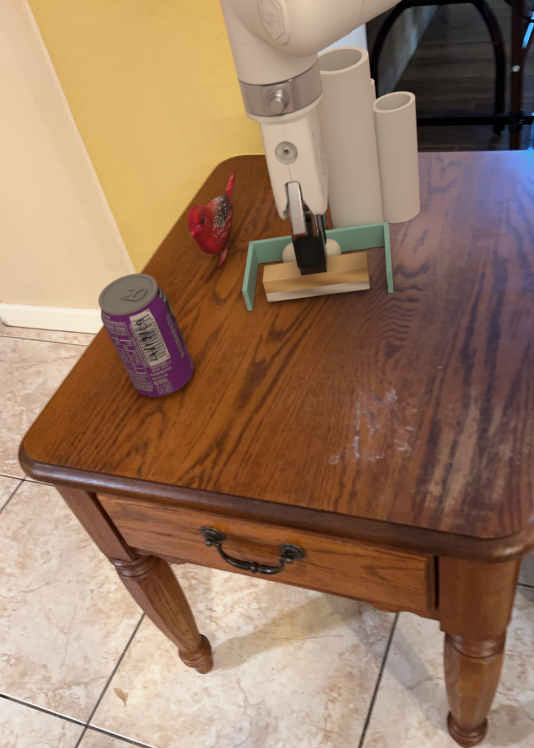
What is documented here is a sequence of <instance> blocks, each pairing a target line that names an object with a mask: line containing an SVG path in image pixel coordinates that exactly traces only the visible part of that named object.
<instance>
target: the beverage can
mask: <svg viewBox="0 0 534 748" xmlns="http://www.w3.org/2000/svg"><path fill="white" fill-rule="evenodd" d="M97 301H98V306H99V308H100V319H101V322H102V324H103V326H104V328H105V330H106V333H107V334H108V337H109V339H110V340H111V343H112V344H113V347H114V348H115V351H116V353H117V355H118V357H119V359H120V361H121V363H122V365H123V367H124V369H125V371H126V373H127V375H128V377H129V380H130V381H131V383H132V385H133V387H134V389H135V390H136V391H137V392H138V393H139V394H141V395H143V396H146V397H154V398H155V397H163V396H168V395H170V394H173V393H175V392H176V391H179V390H180V389H181V388H183V387H184V386H185V385H186V384H187V383H188V382H189V380H190V379H191V378H192V376H193V374H194V370H195V365H194V362H193V359H192V356H191V353H190V351H189V348H188V345H187V344H186V341H185V339H184V336H183V333H182V331H181V328H180V326H179V323H178V322H177V318H176V315H175V313H174V310H173V308H172V305H171V303H170V301H169V298H168V296H167V293H166V291H164V289H162V288H161V287H160V286H159V285H158V283H157V280H156V278H154V277H153V276H152V275H150V274H147V273H131V274H127V275H123V276H121V277H118V278H117V279H115V280H113V281H111V282H110V283H108V284H107V285H106V286H105V287H104V288H103V289H102V290H101V292H100V294H99V296H98V299H97Z"/></svg>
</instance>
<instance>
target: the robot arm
mask: <svg viewBox="0 0 534 748" xmlns="http://www.w3.org/2000/svg"><path fill="white" fill-rule="evenodd" d="M400 2H402V0H219V3H220V8H221V12H222V17H223V21H224V25H225V29H226V35H227V38H228V43H229V47H230V51H231V55H232V60H233V64H234V67H235V68H234V69H235V72H236V76H237V81H238V86H239V90H240V94H241V95H240V96H241V99H242V104H243V108H244V112H245V115H246V116H247V118H248V119H249V120H252V121H254V122H258V124H259V128H260V136H261V140H262V147H263V151H264V157H265V161H266V166H267V167H266V168H267V171H268V177H269V181H270V185H271V190H272V194H273V199H274V203H275V206H276V210H277V213H278V214H277V215H278V217H279V218H280V219H281V220H283V221H287V219H288V223H289V228H290V234H291V235H292V243H293V247H294V252H295V257H296V262H297V266H298V268H300V269H303V268H311V267H318V266H324V265H325V264H326V256H325V250H324V244H323V238H322V233H321V231H318V225H317V219H316V215H317V214H320V215H321V221H322V227H323V233H324V239H325V244H326V243H327V238H326V232H325V226H324V220H323V214H324V213H325V214H326V211H327V209H328V203H329V199H328V167H327V161H326V156H325V151H324V146H323V140H322V135H321V129H320V123H319V118H318V113H317V108H316V106H317V105H318V104H319V103H320V102H321V101H322V98H323V88H322V80H321V74H320V67H319V60H318V54H319V53H321V52H323V51H325V49H327V48H329V47H330V46H332V45H333V44H335V43H337V42H338V41H340V40H342V39H344V38H345V37H347V36H348V35H350V34H351V33H352V32H353V31H355V30H356V29H358V28H360V27H361V26H363V25H365V24H367V23H368V22H370V21H371V20H373V19H375V18H377V17H378V16H380V15H382V14H383V13H385V12H387V11H389V10H390V9H391V8H393V7H395V6H396V5H398V4H399V3H400ZM303 205H307V206H305V207H303ZM307 216H310V220H311V223H310V222H309V221H307V222H306V221H305V217H307Z"/></svg>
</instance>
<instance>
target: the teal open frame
mask: <svg viewBox="0 0 534 748" xmlns="http://www.w3.org/2000/svg"><path fill="white" fill-rule="evenodd" d="M327 218H328V217H327V214H326V212H325V213H324V214H323V220H324V226H325V232H326V238H327V239H332V240H335V241H336V242H337V243H338V244H339V246H340V248H341V253H345V252H353V251H360V250H366V249H375V248H380V247H381V248H382V247H384V256H385V270H386V271H385V273H386V283H387V293H388V294H394V292H395V291H394V281H393V280H394V278H393V263H392V262H393V261H392V246H391V235H390V233H391V231H390V223H389V221H386V222H385V221H384V222H379V223H372V224H365V225H359V226H352V227H345V228H338V229H333V228H332V229H327ZM290 243H292V234H291V235H284V236H279V237H278V236H277V237H271V238H264V239H258V240H251V241H249V242H248V249H247V255H246V263H245V269H244V276H243V282H242V288H241V292H242V295H243V299H244V302H245V307H246V309H247V311H248V312H252V311H253V309H254V302H255V294H256V287H257V278H258V271H259V264H267V263H273V262H281V261H282V262H283V259H282V253H283V250H284V248H285V247H286V246H287V245H288V244H290Z"/></svg>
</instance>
